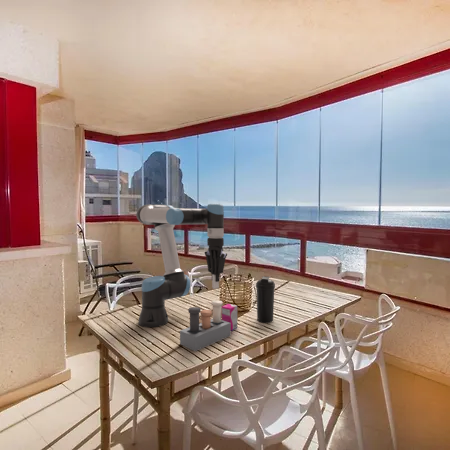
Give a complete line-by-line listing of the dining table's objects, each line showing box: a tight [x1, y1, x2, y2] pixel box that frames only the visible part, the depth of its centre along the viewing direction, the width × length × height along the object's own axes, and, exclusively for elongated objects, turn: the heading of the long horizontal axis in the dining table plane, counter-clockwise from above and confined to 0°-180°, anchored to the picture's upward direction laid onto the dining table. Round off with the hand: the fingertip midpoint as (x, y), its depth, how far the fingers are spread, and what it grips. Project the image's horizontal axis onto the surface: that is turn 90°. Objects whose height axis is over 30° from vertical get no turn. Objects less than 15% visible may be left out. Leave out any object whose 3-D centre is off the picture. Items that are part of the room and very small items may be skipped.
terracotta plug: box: [199, 309, 213, 330], centre depth 132 cm, size 5×5×9 cm
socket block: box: [179, 318, 232, 352], centre depth 133 cm, size 10×22×6 cm, turn 137°
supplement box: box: [221, 303, 238, 332], centre depth 146 cm, size 6×6×12 cm
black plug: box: [187, 306, 202, 332], centre depth 127 cm, size 5×5×9 cm
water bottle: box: [255, 275, 276, 324], centre depth 158 cm, size 10×10×23 cm
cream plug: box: [211, 300, 224, 323], centre depth 137 cm, size 5×5×9 cm
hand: (215, 288), depth 136 cm, fingers closed
